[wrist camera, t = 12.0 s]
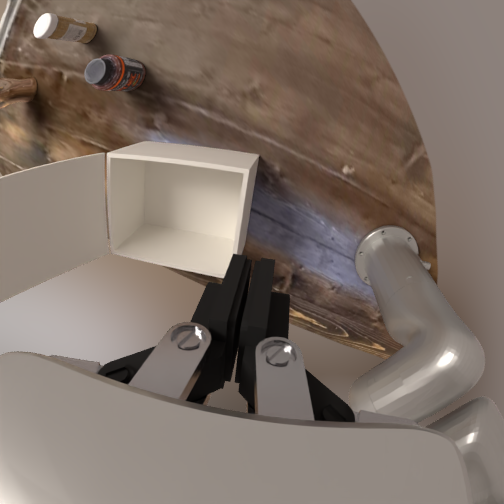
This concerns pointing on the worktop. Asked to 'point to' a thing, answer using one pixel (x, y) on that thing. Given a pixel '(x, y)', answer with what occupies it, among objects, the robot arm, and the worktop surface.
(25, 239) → the lid flap
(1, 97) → the beer glass
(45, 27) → the sprinkles bottle
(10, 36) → the worktop surface
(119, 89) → the supplement bottle
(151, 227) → the carton
